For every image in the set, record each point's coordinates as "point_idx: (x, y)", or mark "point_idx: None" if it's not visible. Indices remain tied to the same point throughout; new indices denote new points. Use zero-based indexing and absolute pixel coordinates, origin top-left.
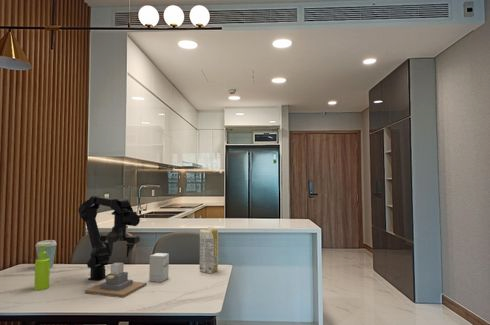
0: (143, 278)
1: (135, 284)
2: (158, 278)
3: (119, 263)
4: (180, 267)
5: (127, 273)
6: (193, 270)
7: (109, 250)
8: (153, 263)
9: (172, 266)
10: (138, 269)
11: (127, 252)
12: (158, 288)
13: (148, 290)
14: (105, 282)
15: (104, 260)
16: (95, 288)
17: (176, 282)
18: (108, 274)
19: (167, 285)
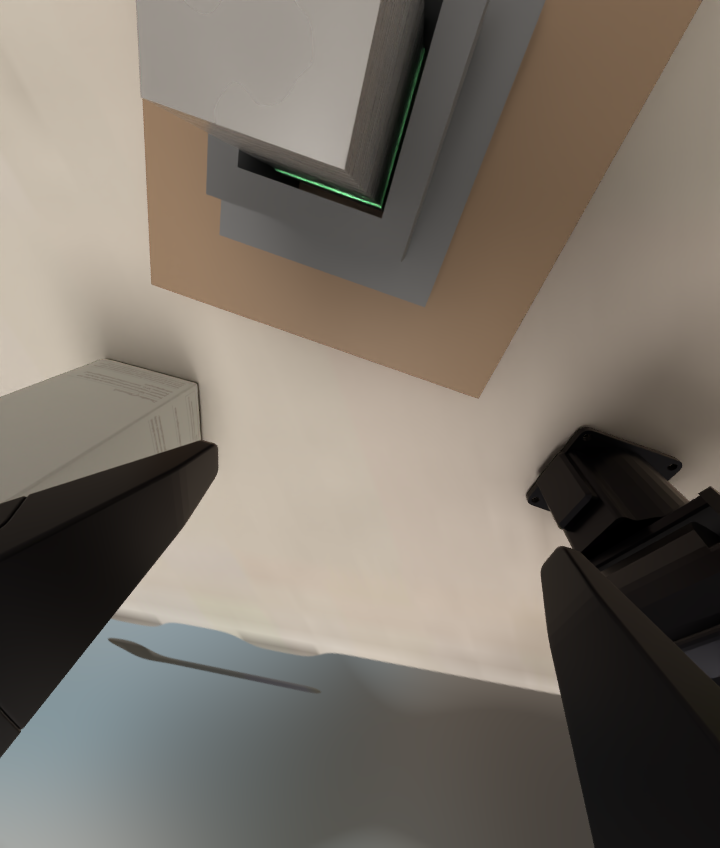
0: (265, 448)
1: (211, 226)
2: (113, 372)
3: (211, 25)
4: (171, 592)
5: (213, 187)
6: None
7: (658, 667)
8: (42, 440)
9: (215, 611)
10: (362, 601)
11: (118, 484)
12: (31, 185)
13: (67, 111)
14: (492, 100)
15: (616, 580)
16: (601, 29)
17: (19, 345)
18: (462, 2)
19: (25, 273)
